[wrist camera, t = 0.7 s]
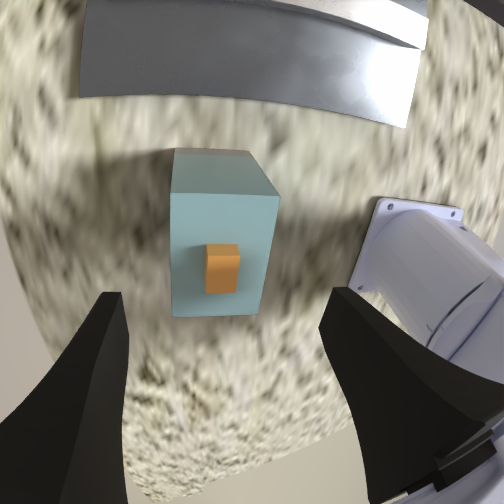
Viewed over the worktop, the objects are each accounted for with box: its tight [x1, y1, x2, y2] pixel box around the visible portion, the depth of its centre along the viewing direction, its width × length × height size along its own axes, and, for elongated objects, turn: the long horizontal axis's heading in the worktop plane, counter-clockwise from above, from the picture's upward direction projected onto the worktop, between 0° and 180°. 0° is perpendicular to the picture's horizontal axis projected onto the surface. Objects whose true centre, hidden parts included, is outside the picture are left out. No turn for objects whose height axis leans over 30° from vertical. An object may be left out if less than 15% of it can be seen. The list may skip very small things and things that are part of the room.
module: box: [170, 148, 280, 317], centre depth 15 cm, size 4×6×7 cm, turn 172°
